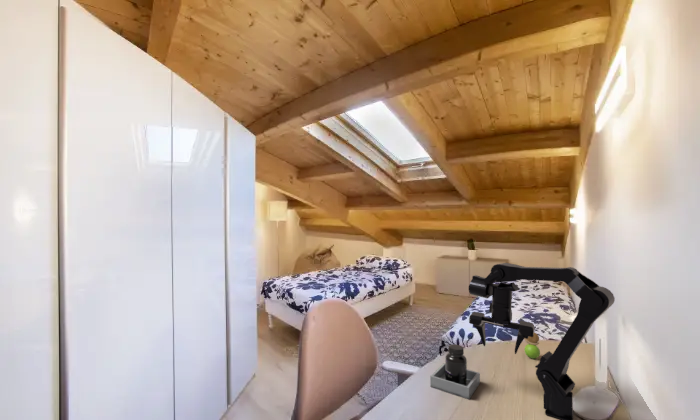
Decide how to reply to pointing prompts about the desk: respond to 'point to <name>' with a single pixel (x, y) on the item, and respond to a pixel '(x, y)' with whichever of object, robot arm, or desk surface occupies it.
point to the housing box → (454, 388)
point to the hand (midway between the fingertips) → (499, 349)
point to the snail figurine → (532, 346)
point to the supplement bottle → (456, 365)
